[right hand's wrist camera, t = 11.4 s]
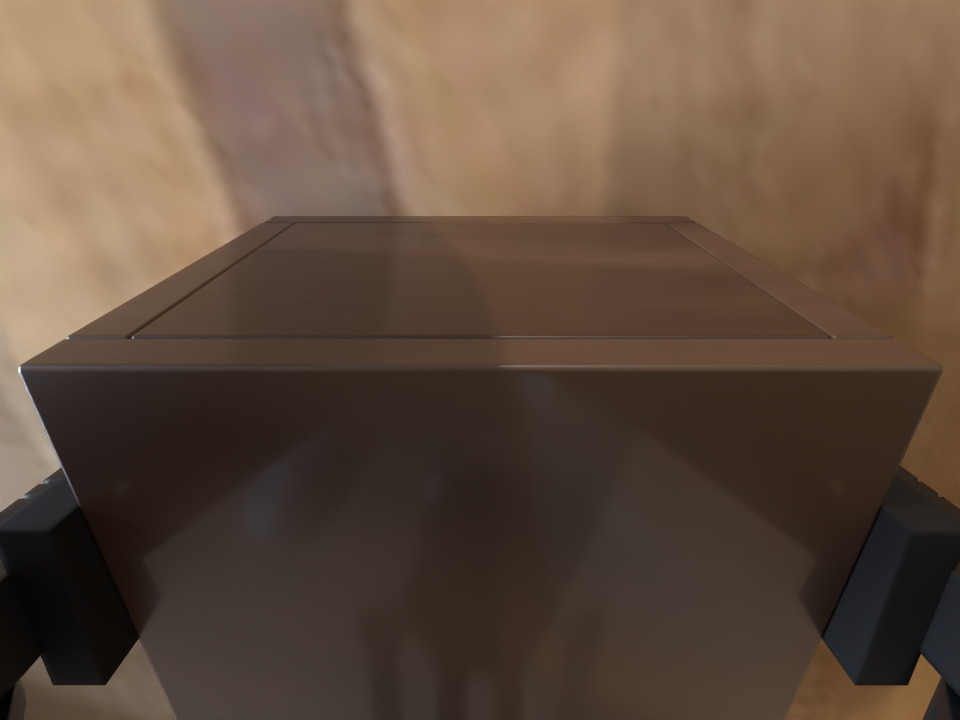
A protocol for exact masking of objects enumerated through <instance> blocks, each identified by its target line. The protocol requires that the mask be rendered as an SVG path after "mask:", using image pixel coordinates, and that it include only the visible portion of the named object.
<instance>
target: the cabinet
mask: <svg viewBox="0 0 960 720" xmlns="http://www.w3.org/2000/svg"><path fill="white" fill-rule="evenodd" d="M18 372H19V375H20V377H21V379H22V381H23V383H24V386H25V388H26V390H27V392H28V394H29V397H30V399H31V401H32V403H33V405H34V408H35V410H36V412H37V414H38V416H39V419H40V421H41V423H42V425H43V427H44V430H45V432H46V434H47V436H48V438H49V441H50V443H51V445H52V447H53V450H54V452H55V454H56V456H57V458H58V461H59V463H60V465H61V467H62V469H63V472H64V474H65V476H66V478H67V480H68V483H69V485H70V487H71V489H72V491H73V494H74V496H75V498H76V500H77V502H78V505H79V507H80V509H81V511H82V513H83V516H84V518H85V520H86V522H87V525H88V527H89V529H90V531H91V533H92V536H93V538H94V540H95V542H96V544H97V547H98V549H99V551H100V553H101V555H102V558H103V560H104V562H105V564H106V566H107V569H108V571H109V573H110V575H111V577H112V580H113V582H114V584H115V586H116V588H117V591H118V593H119V595H120V597H121V599H122V602H123V604H124V606H125V608H126V611H127V613H128V615H129V617H130V619H131V622H132V624H133V626H134V628H135V630H136V633H137V635H138V637H139V639H140V641H141V644H142V646H143V648H144V650H145V652H146V655H147V657H148V659H149V661H150V663H151V666H152V668H153V670H154V672H155V674H156V677H157V679H158V681H159V683H160V686H161V688H162V690H163V692H164V694H165V697H166V699H167V701H168V703H169V705H170V708H171V710H172V712H173V714H174V716H175V719H176V720H784V719H785V717H786V715H787V713H788V710H789V708H790V706H791V704H792V702H793V699H794V697H795V695H796V693H797V691H798V688H799V686H800V684H801V682H802V680H803V677H804V675H805V673H806V671H807V669H808V666H809V664H810V662H811V660H812V658H813V655H814V653H815V651H816V649H817V646H818V644H819V642H820V640H821V638H822V635H823V633H824V631H825V629H826V627H827V624H828V622H829V620H830V618H831V616H832V613H833V611H834V609H835V607H836V605H837V602H838V600H839V598H840V596H841V594H842V591H843V589H844V587H845V585H846V583H847V580H848V578H849V576H850V574H851V572H852V569H853V567H854V565H855V563H856V560H857V558H858V556H859V554H860V552H861V549H862V547H863V545H864V543H865V541H866V538H867V536H868V534H869V532H870V530H871V527H872V525H873V523H874V521H875V519H876V516H877V514H878V512H879V510H880V508H881V505H882V503H883V501H884V499H885V497H886V494H887V492H888V490H889V488H890V486H891V483H892V481H893V479H894V477H895V474H896V472H897V470H898V468H899V466H900V463H901V461H902V459H903V457H904V455H905V452H906V450H907V448H908V446H909V444H910V441H911V439H912V437H913V435H914V433H915V430H916V428H917V426H918V424H919V422H920V419H921V417H922V415H923V413H924V411H925V408H926V406H927V404H928V402H929V400H930V397H931V395H932V393H933V391H934V388H935V386H936V384H937V382H938V380H939V377H940V375H941V373H942V366H941V365H940V364H938V363H937V362H935V361H933V360H932V359H930V358H928V357H926V356H925V355H923V354H921V353H920V352H918V351H916V350H914V349H913V348H911V347H909V346H908V345H906V344H904V343H902V342H901V341H899V340H897V339H892V337H891V335H889V334H887V333H885V332H884V331H882V330H880V329H879V328H877V327H875V326H873V325H872V324H870V323H868V322H867V321H865V320H863V319H861V318H860V317H858V316H856V315H855V314H853V313H851V312H849V311H848V310H846V309H844V308H843V307H841V306H839V305H837V304H836V303H834V302H832V301H831V300H829V299H827V298H825V297H824V296H822V295H820V294H819V293H817V292H815V291H813V290H812V289H810V288H808V287H806V286H805V285H803V284H801V283H800V282H798V281H796V280H794V279H793V278H791V277H789V276H788V275H786V274H784V273H782V272H781V271H779V270H777V269H776V268H774V267H772V266H770V265H769V264H767V263H765V262H764V261H762V260H760V259H758V258H757V257H755V256H753V255H752V254H750V253H748V252H746V251H745V250H743V249H741V248H740V247H738V246H736V245H734V244H733V243H731V242H729V241H728V240H726V239H724V238H722V237H721V236H719V235H717V234H715V233H714V232H712V231H710V230H709V229H707V228H705V227H703V226H702V225H700V224H698V223H696V222H694V221H693V220H691V219H689V218H688V217H686V216H275V217H272V218H271V219H269V220H267V221H266V222H264V223H261V224H259V225H258V226H256V227H254V228H252V229H251V230H249V231H247V232H246V233H244V234H242V235H240V236H239V237H237V238H235V239H234V240H232V241H230V242H228V243H227V244H225V245H223V246H222V247H220V248H218V249H216V250H215V251H213V252H211V253H210V254H208V255H206V256H204V257H203V258H201V259H199V260H198V261H196V262H194V263H192V264H191V265H189V266H187V267H186V268H184V269H182V270H180V271H179V272H177V273H175V274H174V275H172V276H170V277H168V278H167V279H165V280H163V281H162V282H160V283H158V284H156V285H155V286H153V287H151V288H150V289H148V290H146V291H144V292H143V293H141V294H139V295H138V296H136V297H134V298H132V299H131V300H129V301H127V302H126V303H124V304H122V305H120V306H119V307H117V308H115V309H114V310H112V311H110V312H108V313H107V314H105V315H103V316H102V317H100V318H98V319H96V320H95V321H93V322H91V323H90V324H88V325H86V326H84V327H83V328H81V329H79V330H78V331H76V332H74V333H72V334H71V335H69V336H68V337H67V339H65V340H62V341H60V342H59V343H57V344H55V345H54V346H52V347H50V348H48V349H47V350H45V351H43V352H42V353H40V354H38V355H36V356H35V357H33V358H31V359H30V360H28V361H26V362H25V363H23V364H21V365H20V366H19V367H18Z"/></svg>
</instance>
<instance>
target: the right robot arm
mask: <svg viewBox="0 0 960 720" xmlns="http://www.w3.org/2000/svg"><path fill="white" fill-rule="evenodd" d="M138 639H139V637H138V635H137V633H136V630H135V628H134V626H133V624H132V622H131V619H130V617H129V615H128V613H127V611H126V608H125V606H124V604H123V602H122V599H121V597H120V595H119V593H118V591H117V588H116V586H115V584H114V582H113V580H112V577H111V575H110V573H109V571H108V569H107V566H106V564H105V562H104V560H103V558H102V555H101V553H100V551H99V549H98V547H97V544H96V542H95V540H94V538H93V536H92V533H91V531H90V529H89V527H88V525H87V522H86V520H85V518H84V516H83V513H82V511H81V509H80V507H79V505H78V502H77V500H76V498H75V496H74V494H73V491H72V489H71V487H70V485H69V483H68V480H67V478H66V476H65V474H64V472H63V469H62V468H60V469H59V470H57V471H56V472H55V473H53V474H52V475H51V476H49V477H48V478H47V479H45V480H44V483H43V484H38V485H37V486H36V487H34V488H33V489H32V490H30V491H29V492H28V493H26V494H25V495H24V498H23V499H18V500H17V501H15V502H14V503H13V504H11V505H10V506H9V507H7V508H6V509H4V510H3V511H2V512H0V720H23V718H24V712H25V706H26V697H25V690H24V688H23V686H22V683H21V681H20V678H21V677H22V676H23V675H24V673H25V672H26V671H27V670H28V669H29V668H30V667H31V666H32V664H33V663H34V662H35V661H36V660H37V659H38V658H39V657H40V655H41V657H42V660H43V662H44V665H45V667H46V669H47V672H48V674H49V677H50V679H51V682H52V684H53V685H106V684H107V682H108V681H109V679H110V678H111V677H112V675H113V674H114V672H115V671H116V669H117V668H118V667H119V665H120V664H121V662H122V661H123V660H124V658H125V657H126V655H127V654H128V653H129V651H130V650H131V648H132V647H133V646H134V644H135V643H136V641H137V640H138ZM822 639H823V641H824V642H825V643H826V645H827V646H828V648H829V649H830V651H831V652H832V653H833V655H834V656H835V658H836V659H837V660H838V662H839V663H840V665H841V666H842V667H843V669H844V670H845V672H846V673H847V674H848V676H849V677H850V679H851V680H852V681H853V683H854V684H855V685H908V683H909V681H910V679H911V676H912V674H913V671H914V669H915V667H916V664H917V662H918V659H919V657H920V654H922V655H923V656H924V657H925V658H926V660H927V661H928V662H929V663H930V664H931V665H932V666H933V667H934V669H935V670H936V671H937V672H938V673H939V674H940V675H941V676H942V677H941V679H940V681H939V683H938V686H937V688H936V690H935V692H934V695H933V697H932V699H931V701H930V704H929V706H928V708H927V710H926V713H925V715H924V717H923V719H922V720H960V509H959V508H957V507H956V506H955V505H953V504H952V503H950V502H949V501H948V500H946V499H945V498H944V497H938V493H937V492H935V491H934V490H933V489H931V488H930V487H928V486H927V485H926V484H924V483H923V482H918V479H917V478H916V477H915V476H913V475H912V474H911V473H909V472H908V471H907V470H905V469H904V468H902V467H901V466H899V468H898V470H897V472H896V474H895V477H894V479H893V481H892V483H891V486H890V488H889V490H888V492H887V494H886V497H885V499H884V501H883V503H882V505H881V508H880V510H879V512H878V514H877V516H876V519H875V521H874V523H873V525H872V527H871V530H870V532H869V534H868V536H867V538H866V541H865V543H864V545H863V547H862V549H861V552H860V554H859V556H858V558H857V560H856V563H855V565H854V567H853V569H852V572H851V574H850V576H849V578H848V580H847V583H846V585H845V587H844V589H843V591H842V594H841V596H840V598H839V600H838V602H837V605H836V607H835V609H834V611H833V613H832V616H831V618H830V620H829V622H828V624H827V627H826V629H825V631H824V633H823V635H822Z"/></svg>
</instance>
